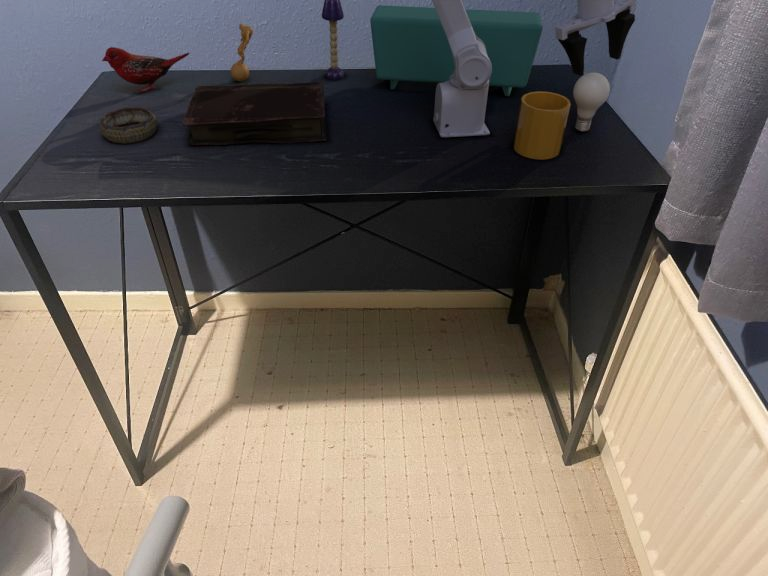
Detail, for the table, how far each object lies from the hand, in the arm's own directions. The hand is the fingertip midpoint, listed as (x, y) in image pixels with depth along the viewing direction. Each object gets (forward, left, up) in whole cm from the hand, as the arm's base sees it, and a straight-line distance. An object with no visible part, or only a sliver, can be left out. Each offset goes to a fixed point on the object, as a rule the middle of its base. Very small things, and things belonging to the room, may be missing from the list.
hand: (596, 65), depth 103 cm
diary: (-61, +9, -12) cm, 63 cm away
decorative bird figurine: (-84, +29, -12) cm, 90 cm away
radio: (-20, +24, -12) cm, 34 cm away
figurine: (-65, +32, -12) cm, 74 cm away
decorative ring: (-85, +8, -12) cm, 86 cm away
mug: (-11, -5, -12) cm, 17 cm away
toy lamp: (-45, +32, -12) cm, 57 cm away
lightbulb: (0, -1, -12) cm, 12 cm away
